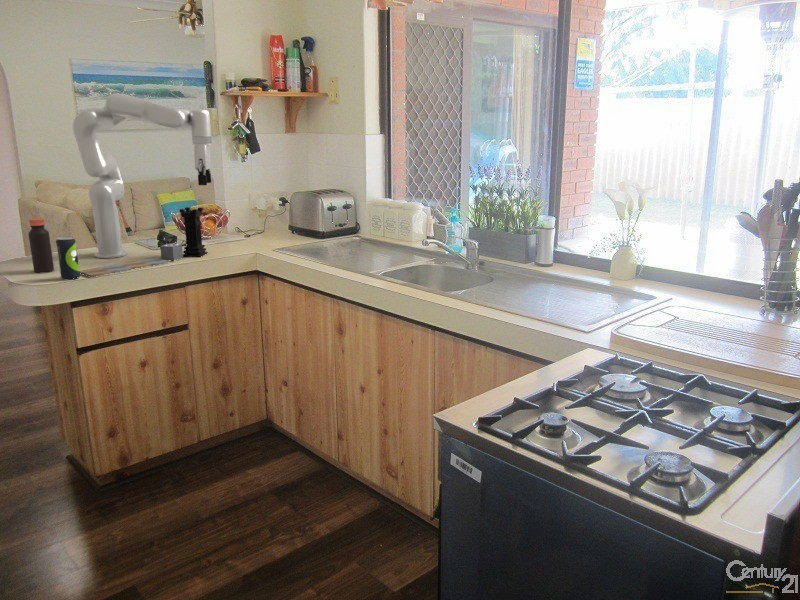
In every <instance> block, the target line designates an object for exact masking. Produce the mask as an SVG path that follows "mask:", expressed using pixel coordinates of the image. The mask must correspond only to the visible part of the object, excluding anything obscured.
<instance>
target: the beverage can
mask: <svg viewBox="0 0 800 600" xmlns="http://www.w3.org/2000/svg"><path fill="white" fill-rule="evenodd" d="M55 244H56V251H57V257H58V265H59V272H60V278H61V279H63V280H64V279H73V278H77V277H79V278H80V276H81V275H80V271H81V270H80V266H79V265H80V264H79V258H78V252H77V243H76V239H75V236H70V235H69V236H60V237H56V240H55ZM77 279H78V278H77ZM73 280H74V279H73Z"/></svg>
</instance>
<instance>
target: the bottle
mask: <svg viewBox="0 0 800 600" xmlns="http://www.w3.org/2000/svg"><path fill="white" fill-rule="evenodd" d="M28 221H29V227H31V229H30V230H29V231H28V233H27V234H28V235H27V236H28V240H29V246H30V247H29V248H30V253H31V258H32V259H31V260H32V265H33V266H32V267H33V272H34V273H36V272H47V273H50V272H49V271H51V272H53V271H55V266H54V264H55V263H54V258H53V252H52V245H51V240H50V231H48V230H47V229H46V228H45V226H46V223H45V218H41V217H38V218H37V217H36V218H35V217H34V218H30V219H29V220H28Z"/></svg>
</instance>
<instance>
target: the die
mask: <svg viewBox="0 0 800 600" xmlns="http://www.w3.org/2000/svg"><path fill="white" fill-rule="evenodd" d="M183 254H184V253H183V244H181V243H166V244H162V245H160V256H161V258H160V259H163V260H173V261H172V262H175V261H174V260H177V259H180V260H182V259H181V258H183V259H184V257H183ZM177 261H178V260H177Z"/></svg>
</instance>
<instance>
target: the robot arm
mask: <svg viewBox="0 0 800 600" xmlns="http://www.w3.org/2000/svg"><path fill="white" fill-rule="evenodd" d="M210 116H211V114H210V112H209V110H208V109H186V108H174V107H170V106H165V105H160V104H156V103H153V102H152V101H151V100H149V99H145V98H140V97H136V96H131V95H129V94H127V93H126V94H125V93H117V92H116V93H115V92H114V93H112V94H110V95H108V96H107V98H106V99H105V106H103V107H102V108H86V109H83V110H81V111H80V112H79V113H77V115H76V116H75V117H74V119H73V122H72V130H73V135H74V138H75V141H76V143H77V147H78V151H79V154H80V157H81V158H80V159H81V161H82V164H83V168H84V170H85V172H86V174H87V175H88V176H89V177H92V178H98V180H96V181H95V182H93V183H92V184H91V185H90V186H89V188H88V196H89V197H88V198H89V201H90V204H91V208H92V213H93V220H94V221H93V222H94V229H95V235H96V243H97V245H96V247H95V248H96V249H97V250H98V251H97V252H95V253H94V257H95V258H98V259H114V258H122V257H124V256H126V255H128V251H127V250H123V249H124V248H123V242H122V234H121V233H122V232H121V226H120V225H121V224H120V218H119V211H118V207H117V204H116V201H119V200H121V199H122V198H123V197H124V195H125V184H124V182H123V181H124V180H123V178H122V175H121V171H120V166H119V164H118V162H117V160H116V158H115V157H114V156H113V155H111V154H109V153H107V152H104V151H103V148H102V143H101V141H100V138H99V137H98V135H97V133H96V132H97V131H108V130H111V129H112V128H115V127H116V126H118V125H119V124H120V123H122V122H123V121H125V120H127V119H133V120H137V121H142V122H145V123H150V124H154V125H158V126H162V127H167V128H172V129H188V128H190V130H191V131H190V132H191V141H192V145H193V147H194V150H193V151H194V153H193V155H194V169H195V170H196V171H197V180H198V184H197V185H198V186H207V185H208V184H210V183H212V175H211V167H212V162H211V161H212V159H211V150H210V149H211V148H210V146H212V145H213V143H212V140H213V139H212V128H211V117H210Z"/></svg>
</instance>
